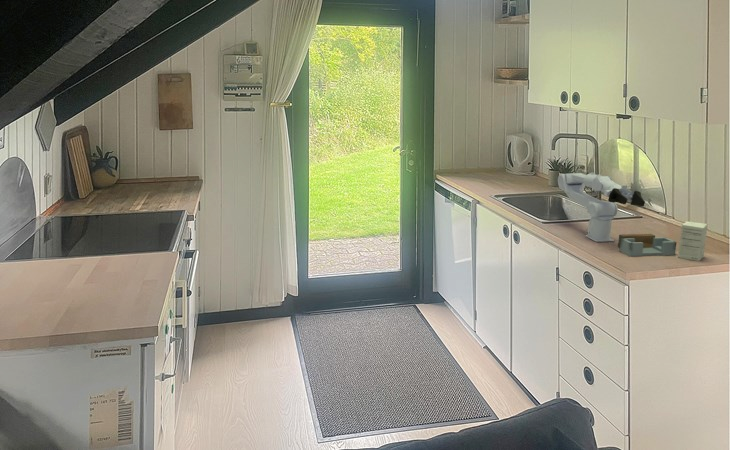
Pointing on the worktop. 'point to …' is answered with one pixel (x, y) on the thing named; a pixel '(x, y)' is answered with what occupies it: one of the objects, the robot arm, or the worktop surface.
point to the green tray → (658, 248)
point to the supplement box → (692, 240)
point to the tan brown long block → (639, 239)
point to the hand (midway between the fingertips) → (634, 202)
